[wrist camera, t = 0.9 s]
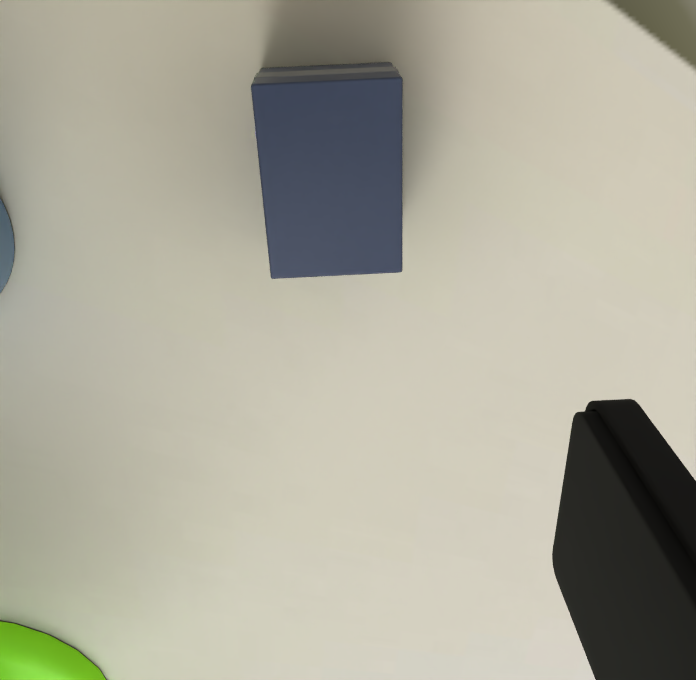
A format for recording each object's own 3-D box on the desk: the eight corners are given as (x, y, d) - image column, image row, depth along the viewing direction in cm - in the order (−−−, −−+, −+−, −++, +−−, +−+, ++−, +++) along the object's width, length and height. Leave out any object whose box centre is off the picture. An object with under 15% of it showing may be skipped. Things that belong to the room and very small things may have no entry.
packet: (259, 67, 25) (249, 83, 22) (391, 61, 25) (403, 76, 22) (276, 242, 29) (270, 280, 25) (393, 236, 29) (403, 273, 25)
